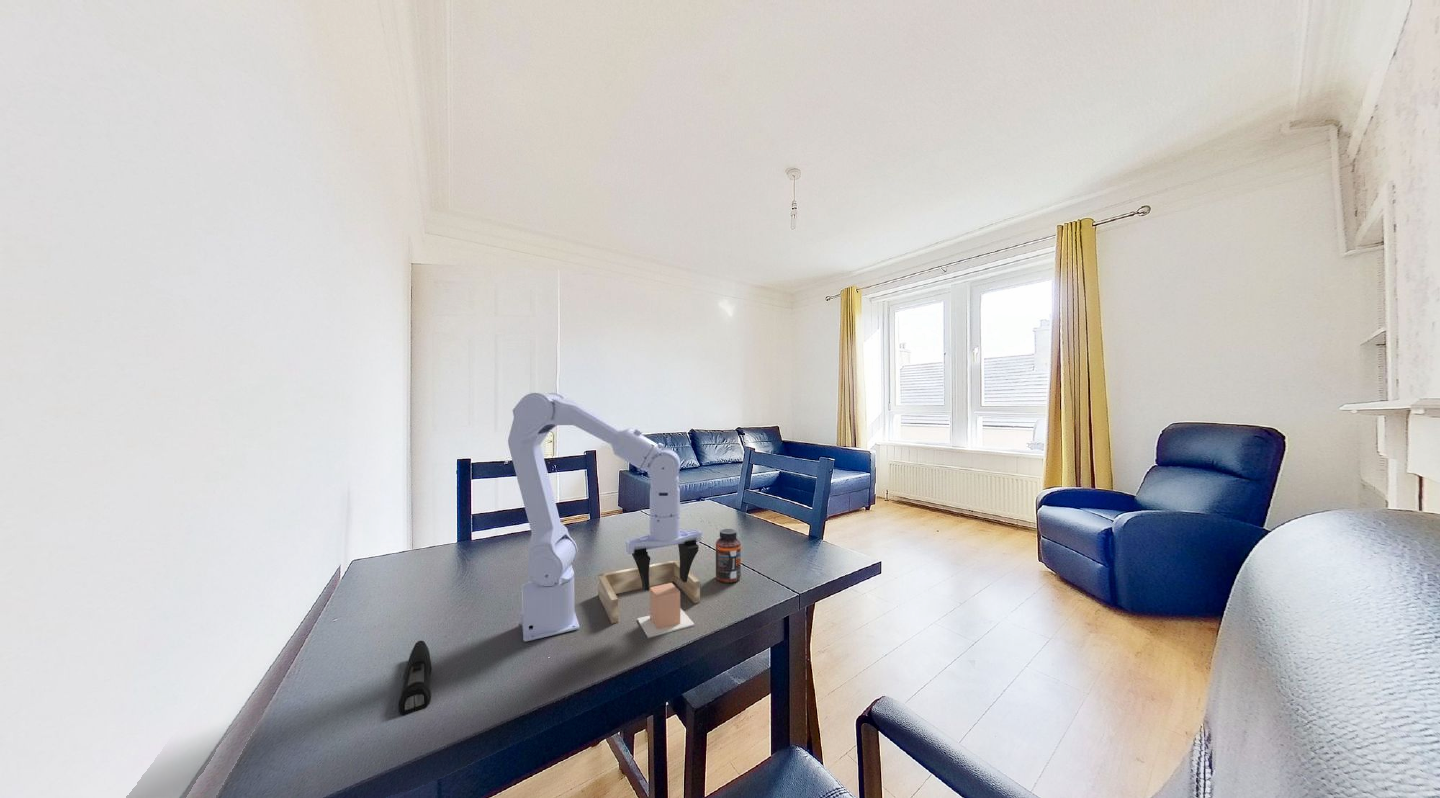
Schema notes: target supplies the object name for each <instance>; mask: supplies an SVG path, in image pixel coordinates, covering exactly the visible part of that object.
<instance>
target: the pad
mask: <svg viewBox="0 0 1440 798" xmlns="http://www.w3.org/2000/svg"><path fill="white" fill-rule="evenodd" d="M636 620H637V622H638V624H639V626H640V627H641V628H642V630H643V631H644V633H645V635H646V637H647V638H648V639H650V638H653V637H658V636H661V635H665V634H669V633H672V632H676V631H680V630H683V629H688V628H691V627H694V626H695V623H694V622H693V621H692V619H691V618H690V617H689V616H688V614H686V613H685V611H684V610H683V608H681V607H680V624H676V625H672V626H669V627H665V628H661V629H657V628H656V626H655V625H654V623H653V622H652V620H651V619H650V614H649V615H646V616H642V617H638V618H636Z"/></svg>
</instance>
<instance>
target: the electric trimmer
mask: <svg viewBox="0 0 1440 798" xmlns="http://www.w3.org/2000/svg"><path fill="white" fill-rule="evenodd" d="M429 650H430V649H429V647H428V646H427V643H426V642H425V641H424V640H418V641H416V643H414V645H413V647H412V650H411V652H410V655H409V657H408V661H407V663H406V667H405V671H404V674H403V680H404V681H403V686H402V689H401V694H400V698H399V699H398V705H397V707H398V713H399V714H400V716H407V715H409V714H412V713H416V712H418V711H421V710H425V709H426V708H428V706H429V705H430V704H431V699H432V691H431V689H430V673H432V670H433V669H432V660H431V655H430V651H429Z"/></svg>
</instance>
